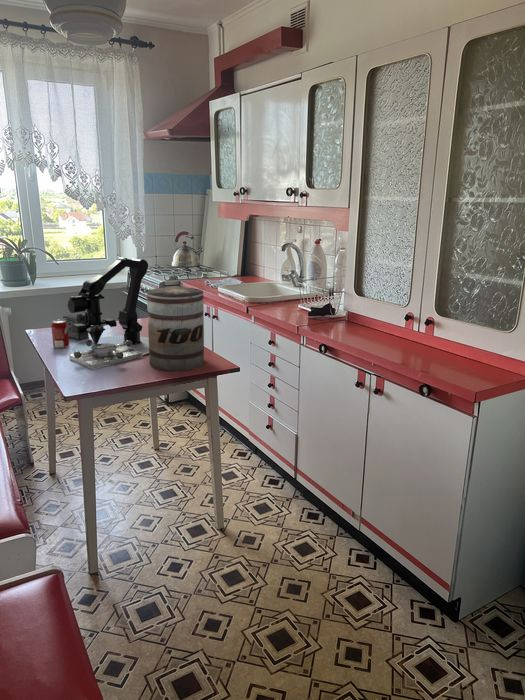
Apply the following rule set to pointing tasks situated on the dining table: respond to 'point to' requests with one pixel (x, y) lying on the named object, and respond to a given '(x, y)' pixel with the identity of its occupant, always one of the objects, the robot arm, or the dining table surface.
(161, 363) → the barrel
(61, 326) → the soda can
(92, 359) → the stand
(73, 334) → the small box
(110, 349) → the capstan
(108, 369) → the dining table surface
